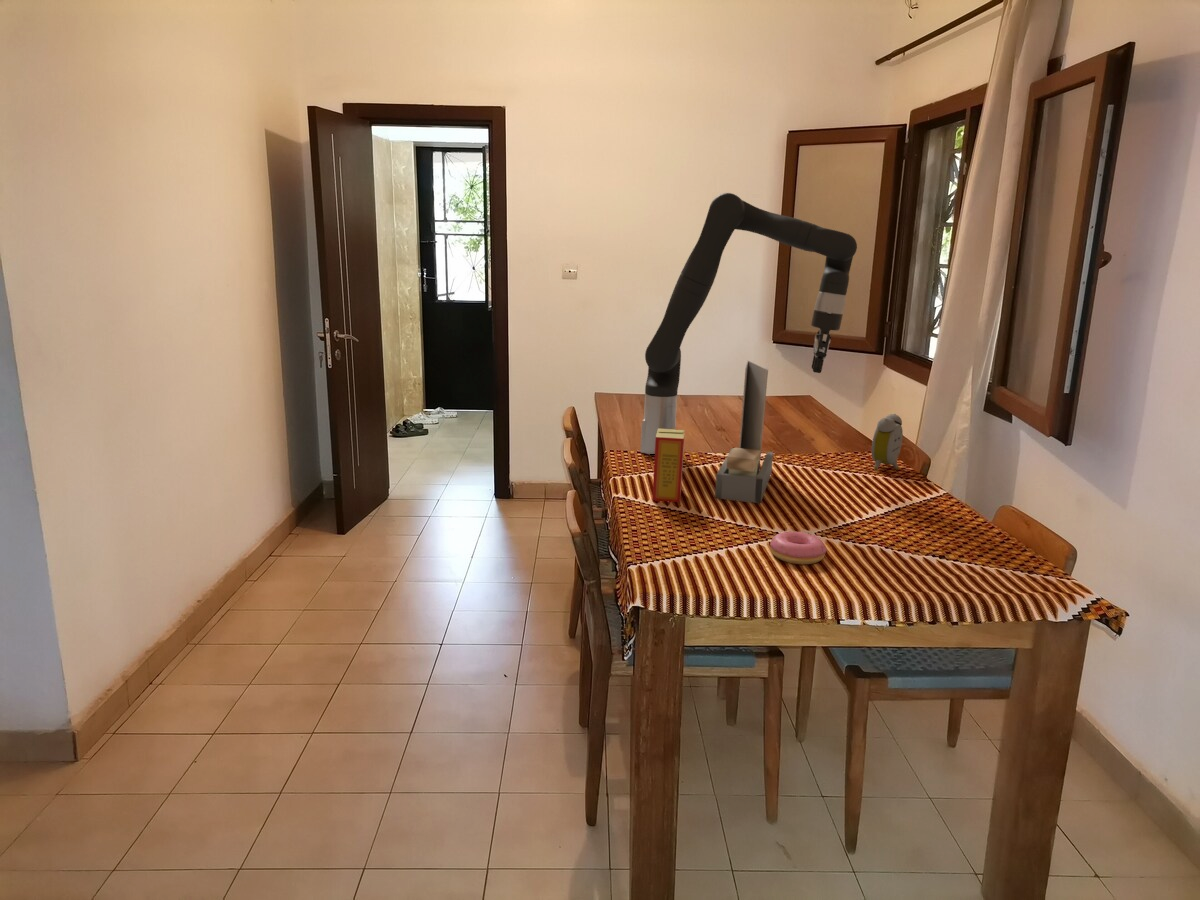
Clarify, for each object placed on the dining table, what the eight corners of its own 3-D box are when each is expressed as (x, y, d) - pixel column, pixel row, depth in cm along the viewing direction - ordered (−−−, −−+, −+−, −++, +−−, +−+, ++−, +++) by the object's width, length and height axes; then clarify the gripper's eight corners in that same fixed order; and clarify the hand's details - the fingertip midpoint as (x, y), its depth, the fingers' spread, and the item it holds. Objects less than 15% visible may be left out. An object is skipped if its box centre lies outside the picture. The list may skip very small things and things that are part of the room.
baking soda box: (679, 502, 194) (683, 437, 190) (652, 500, 195) (655, 435, 191) (681, 491, 203) (684, 428, 199) (654, 489, 204) (658, 426, 200)
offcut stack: (724, 496, 200) (726, 457, 197) (729, 485, 209) (732, 447, 207) (753, 500, 198) (757, 460, 195) (758, 488, 207) (761, 450, 205)
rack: (714, 498, 198) (716, 474, 197) (730, 469, 223) (732, 448, 222) (760, 503, 195) (762, 479, 194) (771, 473, 220) (773, 452, 219)
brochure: (758, 486, 209) (768, 369, 202) (736, 484, 210) (745, 368, 203) (759, 471, 223) (768, 361, 215) (738, 469, 224) (747, 360, 216)
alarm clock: (880, 462, 236) (887, 411, 232) (905, 466, 232) (911, 414, 229) (868, 470, 227) (874, 417, 223) (892, 475, 223) (899, 421, 219)
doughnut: (816, 547, 169) (818, 528, 168) (832, 568, 159) (834, 548, 158) (763, 546, 169) (765, 527, 168) (776, 567, 158) (778, 546, 157)
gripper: (813, 307, 225) (801, 366, 229) (815, 309, 211) (802, 371, 215) (841, 312, 224) (828, 370, 227) (845, 314, 210) (831, 376, 214)
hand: (815, 370), depth 221 cm, fingers open, 8 cm apart
